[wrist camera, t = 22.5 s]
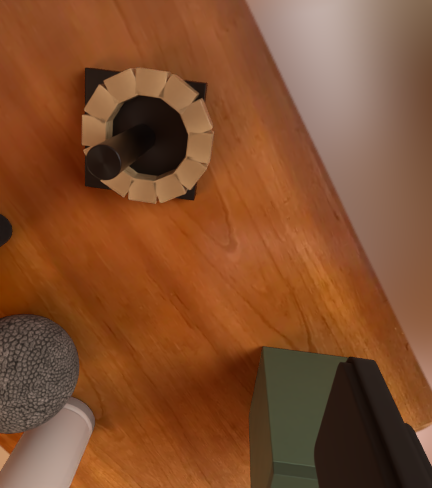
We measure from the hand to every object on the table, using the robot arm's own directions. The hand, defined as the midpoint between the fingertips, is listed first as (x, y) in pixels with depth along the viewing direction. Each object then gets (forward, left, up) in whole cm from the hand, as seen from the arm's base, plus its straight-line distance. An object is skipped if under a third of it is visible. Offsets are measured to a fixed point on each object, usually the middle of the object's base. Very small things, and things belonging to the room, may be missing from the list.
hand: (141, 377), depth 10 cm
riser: (-12, +21, -26) cm, 35 cm away
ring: (+5, -2, -25) cm, 25 cm away
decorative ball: (+14, +19, -26) cm, 36 cm away
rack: (+5, -2, -26) cm, 26 cm away
